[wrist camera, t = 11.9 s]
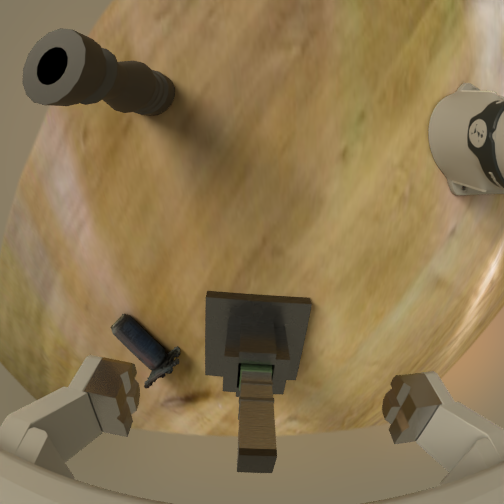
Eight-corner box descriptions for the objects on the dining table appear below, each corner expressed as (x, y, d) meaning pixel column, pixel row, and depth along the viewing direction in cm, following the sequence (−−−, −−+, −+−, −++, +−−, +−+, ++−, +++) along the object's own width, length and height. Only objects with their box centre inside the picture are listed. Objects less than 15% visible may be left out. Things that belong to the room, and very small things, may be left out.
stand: (309, 297, 50) (321, 334, 41) (294, 372, 56) (300, 412, 47) (207, 290, 50) (198, 327, 40) (206, 367, 55) (200, 407, 46)
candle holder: (170, 117, 40) (79, 109, 17) (129, 113, 40) (14, 109, 16) (178, 75, 38) (98, 21, 15) (137, 72, 38) (30, 30, 14)
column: (271, 357, 45) (278, 455, 29) (268, 378, 46) (273, 473, 30) (241, 356, 44) (237, 454, 29) (239, 377, 46) (235, 472, 30)
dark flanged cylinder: (184, 345, 55) (134, 299, 53) (180, 367, 48) (123, 316, 45) (152, 372, 56) (105, 330, 53) (146, 396, 48) (91, 350, 46)
